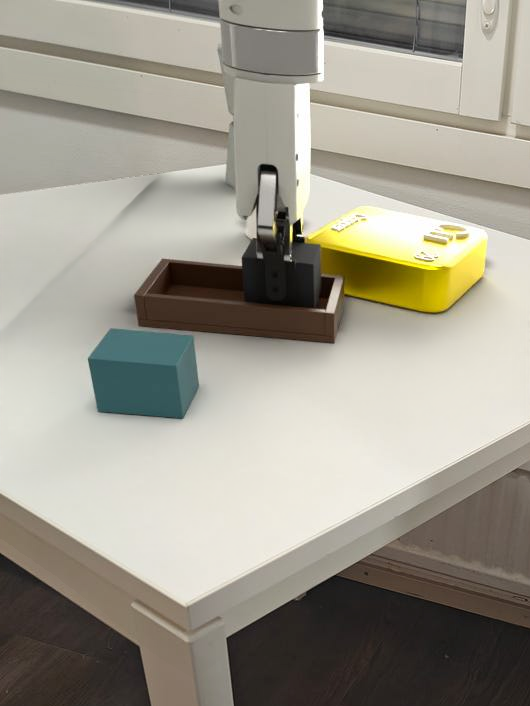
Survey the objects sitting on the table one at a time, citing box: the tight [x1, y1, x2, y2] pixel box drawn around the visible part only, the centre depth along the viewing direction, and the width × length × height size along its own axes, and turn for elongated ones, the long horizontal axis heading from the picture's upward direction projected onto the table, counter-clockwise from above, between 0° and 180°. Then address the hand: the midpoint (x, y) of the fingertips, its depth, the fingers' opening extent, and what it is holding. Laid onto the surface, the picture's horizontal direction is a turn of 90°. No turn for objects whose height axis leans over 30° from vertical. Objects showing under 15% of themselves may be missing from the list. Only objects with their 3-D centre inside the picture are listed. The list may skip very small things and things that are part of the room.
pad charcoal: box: [241, 238, 321, 309], centre depth 78 cm, size 6×6×4 cm
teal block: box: [87, 327, 200, 419], centre depth 65 cm, size 6×6×4 cm
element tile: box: [304, 205, 488, 314], centre depth 89 cm, size 15×15×5 cm
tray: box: [133, 257, 345, 344], centre depth 79 cm, size 17×10×3 cm, turn 91°
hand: (283, 291), depth 79 cm, fingers closed on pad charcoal, 5 cm apart
